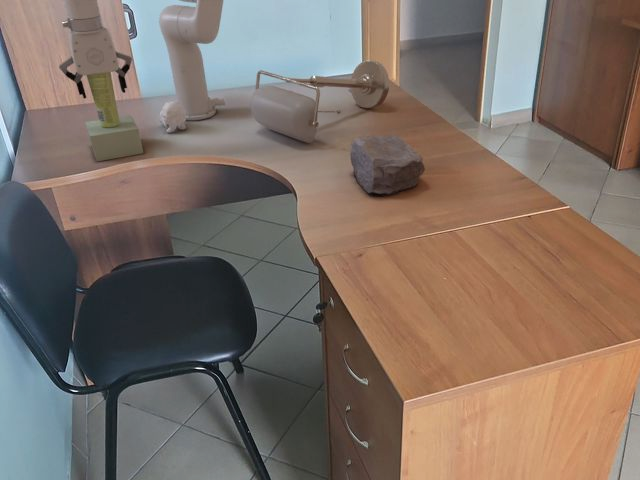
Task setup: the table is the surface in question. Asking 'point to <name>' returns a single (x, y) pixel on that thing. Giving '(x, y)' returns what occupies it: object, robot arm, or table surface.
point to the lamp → (301, 111)
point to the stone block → (385, 164)
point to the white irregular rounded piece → (173, 116)
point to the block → (115, 139)
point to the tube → (104, 99)
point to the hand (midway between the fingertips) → (104, 94)
